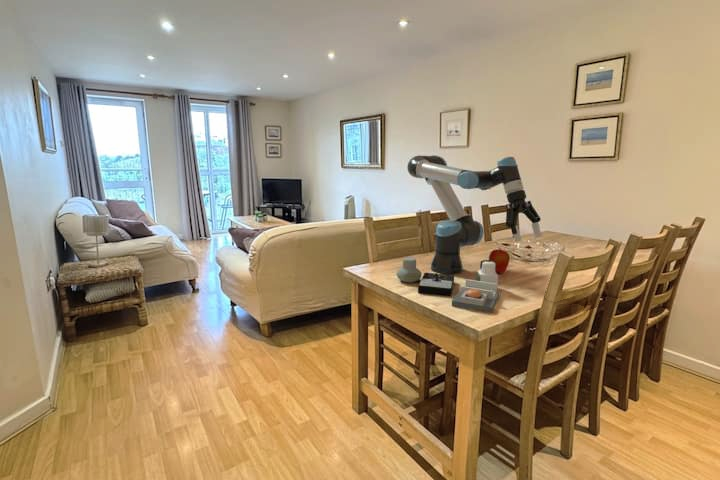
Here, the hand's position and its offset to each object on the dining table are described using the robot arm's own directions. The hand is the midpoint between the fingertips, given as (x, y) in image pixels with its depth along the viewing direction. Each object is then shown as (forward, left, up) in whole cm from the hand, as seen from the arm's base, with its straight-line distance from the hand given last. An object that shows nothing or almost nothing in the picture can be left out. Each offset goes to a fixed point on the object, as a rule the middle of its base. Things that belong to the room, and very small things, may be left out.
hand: (528, 239), depth 160 cm
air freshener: (-46, -21, -20) cm, 54 cm away
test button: (-14, -38, -16) cm, 44 cm away
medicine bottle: (-13, -16, -20) cm, 29 cm away
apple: (-12, +11, -20) cm, 26 cm away
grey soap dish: (-14, -32, -19) cm, 40 cm away
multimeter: (-32, -24, -20) cm, 45 cm away
